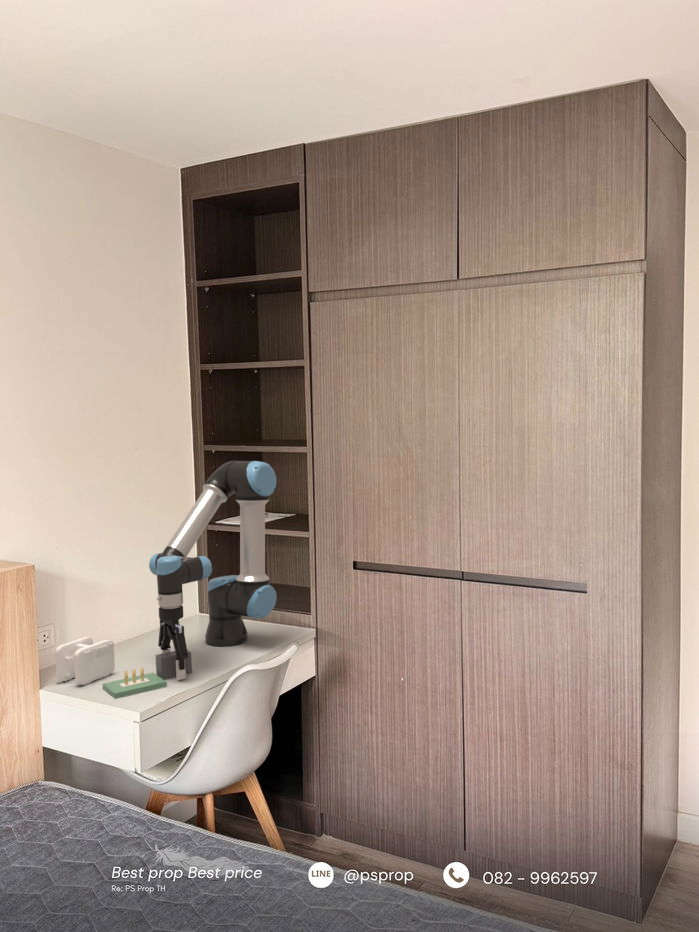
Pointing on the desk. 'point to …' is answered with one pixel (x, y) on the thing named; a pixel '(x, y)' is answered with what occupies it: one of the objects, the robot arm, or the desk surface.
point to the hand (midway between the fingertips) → (173, 674)
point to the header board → (134, 684)
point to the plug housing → (170, 665)
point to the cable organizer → (84, 660)
